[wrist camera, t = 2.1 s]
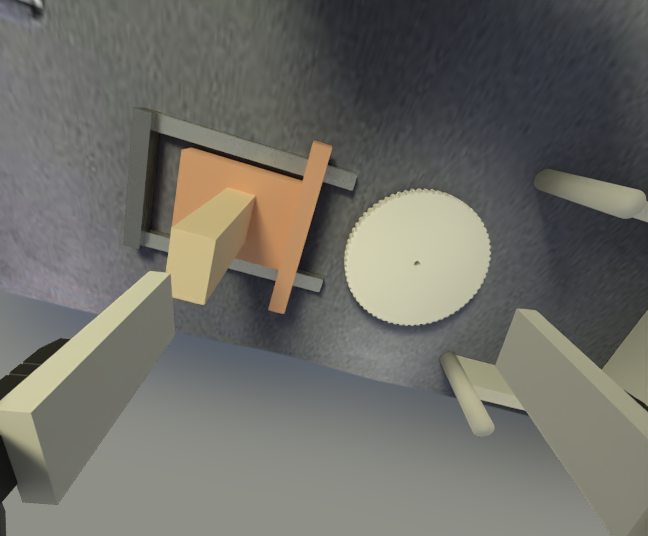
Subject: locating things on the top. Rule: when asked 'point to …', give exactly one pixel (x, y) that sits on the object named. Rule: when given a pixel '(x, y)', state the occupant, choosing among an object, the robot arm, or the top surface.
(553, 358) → the robot arm
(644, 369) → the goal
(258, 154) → the rail track
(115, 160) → the top surface
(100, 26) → the top surface
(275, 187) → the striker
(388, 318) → the plastic lid
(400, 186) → the top surface
